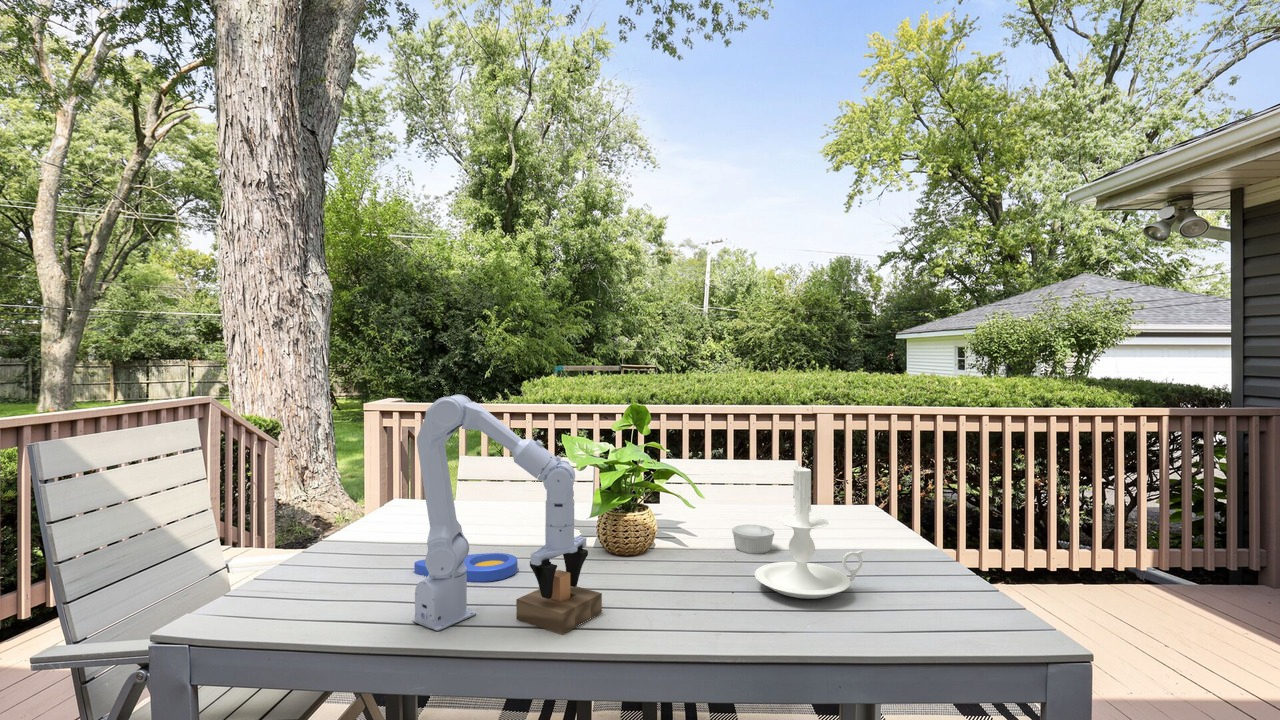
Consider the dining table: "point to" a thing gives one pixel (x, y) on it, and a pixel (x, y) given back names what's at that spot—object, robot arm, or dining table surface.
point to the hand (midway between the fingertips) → (559, 591)
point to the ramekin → (753, 538)
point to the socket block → (559, 609)
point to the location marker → (482, 567)
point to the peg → (561, 586)
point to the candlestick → (805, 553)
